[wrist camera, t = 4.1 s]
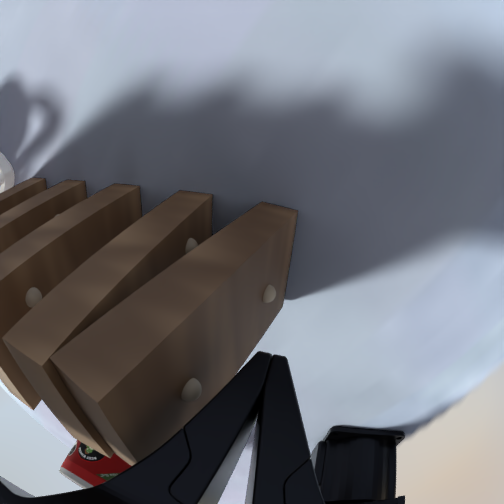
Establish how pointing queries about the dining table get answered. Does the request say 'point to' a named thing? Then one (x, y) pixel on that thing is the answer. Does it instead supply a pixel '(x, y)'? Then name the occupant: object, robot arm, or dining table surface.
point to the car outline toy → (6, 174)
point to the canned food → (91, 466)
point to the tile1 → (180, 334)
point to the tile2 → (103, 298)
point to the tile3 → (56, 264)
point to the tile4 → (39, 211)
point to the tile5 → (21, 193)
